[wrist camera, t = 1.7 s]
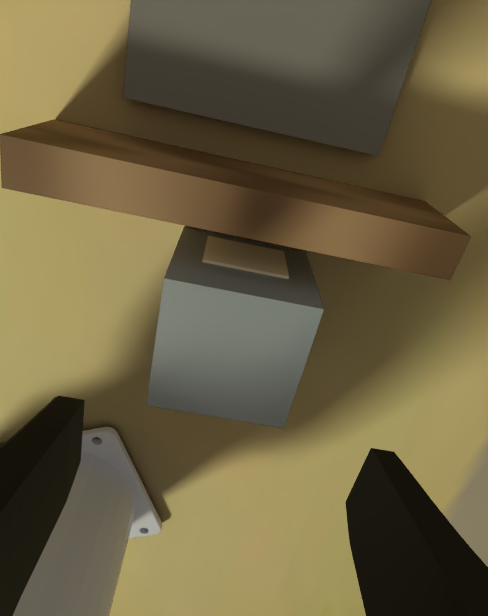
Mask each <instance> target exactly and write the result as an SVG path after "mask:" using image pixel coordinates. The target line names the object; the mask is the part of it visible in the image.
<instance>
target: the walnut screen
mask: <svg viewBox="0 0 488 616" xmlns="http://www.w3.org/2000/svg"><path fill="white" fill-rule="evenodd" d="M0 154H1V180H2V188H6V189H10V190H15V191H20V192H25V193H30V194H35V195H40V196H44V197H49V198H54V199H59V200H64V201H69V202H74V203H78V204H83V205H88V206H93V207H98V208H103V209H108V210H112V211H117V212H122V213H127V214H132V215H137V216H142V217H146V218H151V219H156V220H161V221H166V222H171V223H176V224H180V225H185V226H190V227H195V228H200V229H205V230H210V231H214V232H219V233H224V234H229V235H234V236H239V237H244V238H248V239H253V240H258V241H263V242H268V243H273V244H277V245H282V246H287V247H292V248H297V249H302V250H307V251H311V252H316V253H321V254H326V255H331V256H336V257H341V258H345V259H350V260H355V261H360V262H365V263H370V264H375V265H379V266H384V267H389V268H394V269H399V270H404V271H409V272H413V273H418V274H423V275H428V276H433V277H438V278H443V279H447V280H451V278H452V276H453V274H454V271H455V269H456V267H457V265H458V263H459V261H460V259H461V256H462V254H463V252H464V250H465V248H466V246H467V244H468V242H469V239H470V237H471V236H470V235H469V234H467V233H466V232H465V231H463V230H462V229H461V228H459V227H458V226H457V225H455V224H454V223H453V222H451V221H450V220H449V219H448V218H446V217H445V216H444V215H442V214H441V213H440V212H438V211H437V210H436V209H434V208H433V207H432V206H430V205H429V204H428V203H427V202H424V201H420V200H415V199H411V198H406V197H402V196H397V195H393V194H388V193H384V192H379V191H375V190H370V189H366V188H361V187H357V186H352V185H348V184H343V183H339V182H334V181H329V180H325V179H320V178H316V177H311V176H307V175H302V174H298V173H293V172H289V171H284V170H280V169H275V168H271V167H266V166H262V165H257V164H253V163H248V162H244V161H239V160H235V159H230V158H226V157H221V156H217V155H212V154H208V153H203V152H199V151H194V150H190V149H185V148H181V147H176V146H172V145H167V144H163V143H158V142H154V141H149V140H145V139H140V138H136V137H131V136H127V135H122V134H117V133H113V132H108V131H104V130H99V129H95V128H90V127H86V126H81V125H77V124H72V123H68V122H63V121H59V120H50V121H47V122H43V123H39V124H36V125H32V126H28V127H25V128H21V129H18V130H14V131H10V132H7V133H3V134H0Z"/></svg>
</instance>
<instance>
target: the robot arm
mask: <svg viewBox="0 0 488 616" xmlns="http://www.w3.org/2000/svg"><path fill="white" fill-rule="evenodd" d="M83 415H84V400H81V399H75V398H69V397H63V396H58V397H56V398H54V399H53V400H52V401H51V402H50V403H49V404H48V405H47V406H46V407H45V408H43V409H42V410H41V411H40V412H39V413H38V414H37V415H36V416H35V417H34V418H33V419H32V420H30V421H29V422H28V423H27V424H26V425H25V426H24V427H23V428H22V429H20V430H19V431H18V432H17V433H16V434H15V435H14V436H12V437H11V438H10V439H9V440H8V441H6V442H5V443H4V444H3V445H2V446H0V616H109V614H110V610H111V606H112V602H113V598H114V594H115V590H116V586H117V582H118V578H119V574H120V570H121V566H122V562H123V558H124V554H125V550H126V546H127V543H128V539H129V538H135V537H142V536H148V535H155V534H158V533H159V532H161V529H162V522H161V520H160V518H159V516H158V514H157V512H156V510H155V508H154V506H153V504H152V502H151V500H150V498H149V496H148V493H147V491H146V489H145V487H144V485H143V483H142V481H141V479H140V477H139V475H138V473H137V471H136V469H135V467H134V465H133V463H132V461H131V459H130V457H129V455H128V453H127V451H126V449H125V447H124V445H123V443H122V441H121V439H120V437H119V435H118V433H117V431H116V430H115V429H113V428H111V427H102V428H96V429H91V430H85V431H83ZM95 437H98V438H100V439H97V438H95ZM346 510H347V522H348V531H349V539H350V546H351V551H352V555H353V560H354V564H355V569H356V573H357V578H358V582H359V586H360V591H361V595H362V599H363V604H364V608H365V612H366V616H488V567H487V566H486V565H485V564H484V563H483V561H482V560H481V559H480V558H479V557H478V556H477V555H476V554H475V553H474V551H473V550H472V549H471V548H470V547H469V545H468V544H467V543H466V542H465V541H464V539H462V537H461V536H460V535H459V534H458V532H457V531H456V530H455V529H454V527H453V526H452V525H451V524H450V523H449V521H448V520H447V519H446V518H445V516H444V515H443V514H442V513H441V511H440V510H439V509H438V507H437V506H436V505H435V504H434V502H433V501H432V500H431V499H430V497H429V496H428V495H427V493H426V492H425V491H424V490H423V488H422V487H421V486H420V484H419V483H418V482H417V481H416V479H415V478H414V477H413V475H412V474H411V473H410V471H409V470H408V469H407V468H406V466H405V465H404V464H403V462H402V461H401V460H400V459H399V458H398V456H397V455H396V454H395V453H394V452H391V451H385V450H379V449H373V448H371V449H370V451H369V454H368V456H367V458H366V460H365V462H364V464H363V466H362V468H361V471H360V473H359V475H358V477H357V479H356V481H355V483H354V485H353V488H352V490H351V492H350V494H349V496H348V498H347V500H346Z"/></svg>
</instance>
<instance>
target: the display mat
mask: <svg viewBox="0 0 488 616" xmlns="http://www.w3.org/2000/svg"><path fill="white" fill-rule="evenodd" d="M430 3H431V0H131V4H130V17H129V29H128V42H127V55H126V67H125V80H124V92H123V98H127V99H131V100H135V101H140V102H144V103H149V104H153V105H157V106H162V107H166V108H170V109H175V110H179V111H183V112H188V113H192V114H197V115H201V116H205V117H210V118H214V119H218V120H223V121H227V122H231V123H236V124H240V125H245V126H249V127H253V128H258V129H262V130H266V131H271V132H275V133H279V134H284V135H288V136H293V137H297V138H301V139H306V140H310V141H314V142H319V143H323V144H327V145H332V146H336V147H341V148H345V149H349V150H354V151H358V152H362V153H367V154H371V155H375V156H379V153H380V150H381V147H382V144H383V141H384V138H385V135H386V133H387V130H388V127H389V124H390V121H391V118H392V115H393V112H394V109H395V106H396V103H397V100H398V97H399V94H400V91H401V88H402V85H403V82H404V79H405V77H406V74H407V71H408V68H409V65H410V62H411V59H412V56H413V53H414V50H415V47H416V44H417V41H418V38H419V35H420V32H421V29H422V26H423V23H424V21H425V18H426V15H427V12H428V9H429V6H430Z"/></svg>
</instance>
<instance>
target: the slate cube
mask: <svg viewBox="0 0 488 616" xmlns="http://www.w3.org/2000/svg"><path fill="white" fill-rule="evenodd" d="M323 311H324V307H323V304H322V301H321V298H320V295H319V292H318V288H317V285H316V282H315V279H314V276H313V273H312V269H311V266H310V263H309V260H308V257H307V254H306V252H303V251H298V250H294V249H289V248H284V247H279V246H274V245H269V244H264V243H260V242H255V241H250V240H245V239H240V238H235V237H230V236H226V235H221V234H216V233H211V232H206V231H201V230H196V229H192V228H187V227H184V229H183V231H182V234H181V236H180V239H179V241H178V244H177V247H176V249H175V252H174V254H173V257H172V259H171V262H170V264H169V267H168V270H167V272H166V275H165V277H164V282H163V289H162V296H161V303H160V310H159V317H158V324H157V331H156V338H155V345H154V352H153V359H152V366H151V373H150V380H149V387H148V394H147V401H146V405H147V406H153V407H159V408H165V409H171V410H177V411H183V412H189V413H195V414H201V415H207V416H213V417H219V418H224V419H230V420H236V421H242V422H248V423H254V424H260V425H266V426H272V427H278V428H284V427H285V424H286V421H287V418H288V415H289V412H290V409H291V406H292V403H293V400H294V397H295V394H296V391H297V388H298V385H299V382H300V379H301V377H302V374H303V371H304V368H305V365H306V362H307V359H308V356H309V353H310V350H311V347H312V344H313V341H314V338H315V335H316V332H317V329H318V326H319V323H320V320H321V317H322V314H323Z"/></svg>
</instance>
